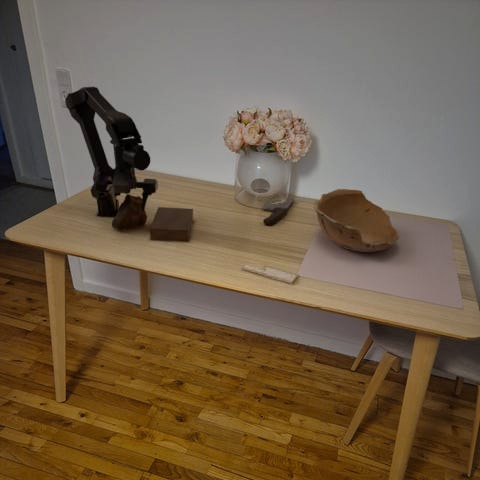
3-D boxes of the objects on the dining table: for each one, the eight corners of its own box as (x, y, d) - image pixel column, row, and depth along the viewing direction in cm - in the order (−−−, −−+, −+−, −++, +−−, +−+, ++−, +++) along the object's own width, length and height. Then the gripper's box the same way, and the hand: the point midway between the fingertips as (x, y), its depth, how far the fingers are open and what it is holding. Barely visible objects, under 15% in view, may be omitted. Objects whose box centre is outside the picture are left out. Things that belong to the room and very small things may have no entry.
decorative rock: (142, 220, 150) (139, 190, 144) (151, 226, 147) (149, 195, 140) (110, 228, 144) (106, 196, 138) (118, 234, 140) (114, 202, 134)
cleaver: (277, 227, 152) (278, 221, 151) (250, 222, 154) (251, 216, 153) (294, 201, 175) (295, 195, 174) (271, 197, 177) (272, 192, 176)
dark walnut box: (150, 240, 138) (149, 228, 136) (158, 217, 153) (158, 207, 151) (188, 241, 139) (188, 230, 137) (192, 219, 154) (192, 208, 151)
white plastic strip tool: (251, 262, 130) (251, 259, 129) (297, 276, 124) (298, 273, 124) (243, 269, 126) (243, 266, 125) (291, 284, 121) (291, 280, 120)
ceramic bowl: (412, 257, 134) (417, 211, 126) (325, 270, 135) (324, 224, 126) (380, 221, 159) (382, 180, 151) (306, 232, 160) (304, 192, 151)
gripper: (86, 167, 126) (93, 218, 135) (151, 171, 127) (154, 221, 136) (96, 157, 135) (102, 205, 144) (156, 160, 136) (159, 208, 145)
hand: (129, 210), depth 142 cm, fingers open, 9 cm apart
